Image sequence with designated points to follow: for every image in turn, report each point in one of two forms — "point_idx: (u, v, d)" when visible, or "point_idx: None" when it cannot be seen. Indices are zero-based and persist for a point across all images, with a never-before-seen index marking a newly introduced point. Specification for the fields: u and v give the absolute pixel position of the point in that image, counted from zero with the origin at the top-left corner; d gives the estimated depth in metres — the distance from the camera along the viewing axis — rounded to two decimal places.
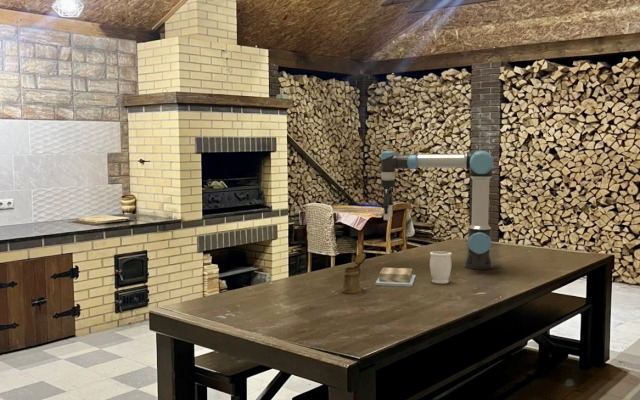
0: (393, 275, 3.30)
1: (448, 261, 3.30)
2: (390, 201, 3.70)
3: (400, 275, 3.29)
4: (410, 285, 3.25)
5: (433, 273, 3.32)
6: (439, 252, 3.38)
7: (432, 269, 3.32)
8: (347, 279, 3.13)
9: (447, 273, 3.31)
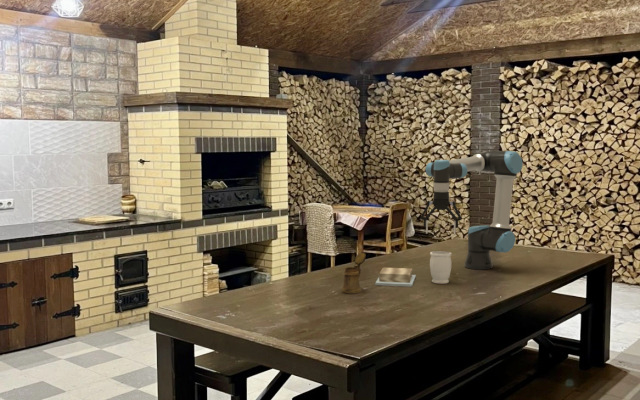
0: (393, 275, 3.30)
1: (448, 261, 3.30)
2: (452, 216, 3.30)
3: (400, 275, 3.29)
4: (410, 285, 3.25)
5: (433, 273, 3.32)
6: (439, 252, 3.38)
7: (432, 269, 3.32)
8: (347, 279, 3.13)
9: (447, 273, 3.31)
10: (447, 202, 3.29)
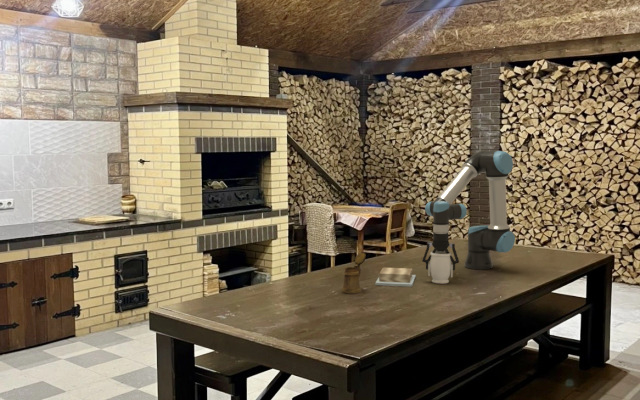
0: (393, 275, 3.30)
1: (448, 261, 3.30)
2: None
3: (400, 275, 3.29)
4: (410, 285, 3.25)
5: (433, 273, 3.32)
6: (439, 252, 3.38)
7: (432, 269, 3.32)
8: (347, 279, 3.13)
9: (447, 273, 3.30)
10: (447, 244, 3.31)
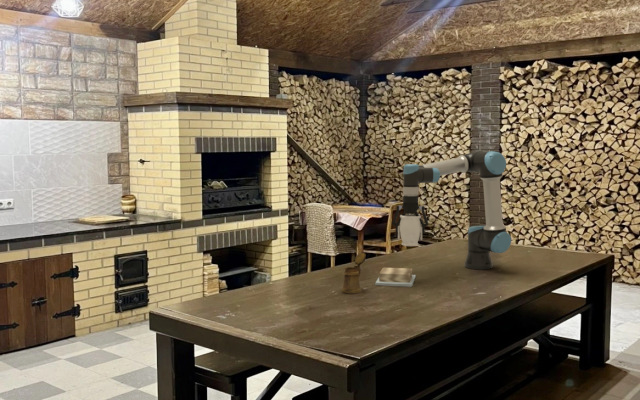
0: (393, 275, 3.30)
1: (418, 223, 3.30)
2: None
3: (400, 275, 3.29)
4: (410, 285, 3.25)
5: (403, 236, 3.31)
6: (409, 215, 3.38)
7: (402, 232, 3.31)
8: (347, 279, 3.13)
9: (417, 235, 3.30)
10: (416, 206, 3.31)
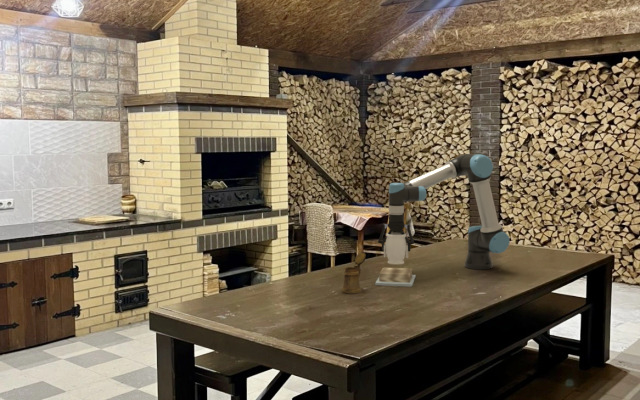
0: (393, 275, 3.30)
1: (403, 242, 3.32)
2: None
3: (400, 275, 3.29)
4: (410, 285, 3.25)
5: (388, 254, 3.34)
6: (395, 233, 3.40)
7: (387, 250, 3.34)
8: (347, 279, 3.13)
9: (402, 254, 3.32)
10: (402, 225, 3.33)
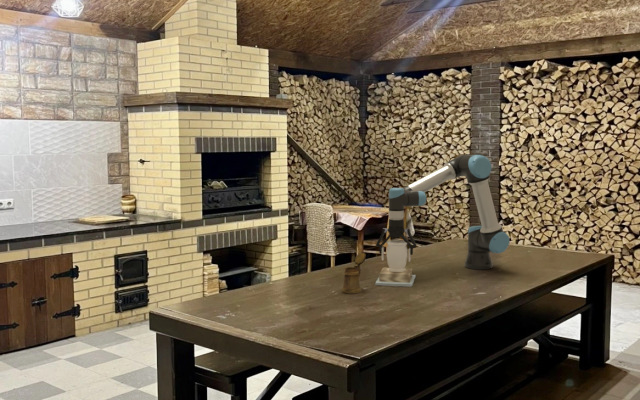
0: (393, 275, 3.30)
1: (404, 250, 3.32)
2: None
3: (400, 275, 3.29)
4: (410, 285, 3.25)
5: (389, 262, 3.34)
6: (396, 241, 3.40)
7: (388, 258, 3.34)
8: (347, 279, 3.13)
9: (403, 262, 3.33)
10: (402, 230, 3.33)
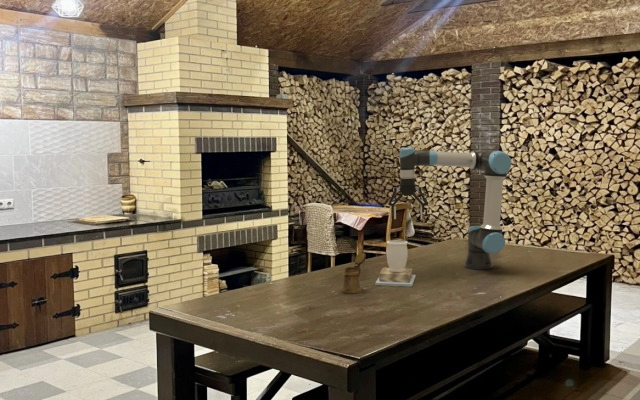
0: (393, 275, 3.30)
1: (404, 250, 3.32)
2: None
3: (400, 275, 3.29)
4: (410, 285, 3.25)
5: (389, 262, 3.34)
6: (396, 241, 3.40)
7: (388, 258, 3.34)
8: (347, 279, 3.13)
9: (403, 262, 3.33)
10: (413, 188, 3.43)
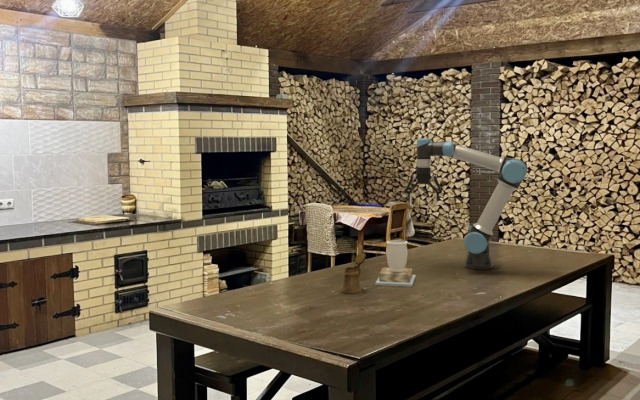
0: (393, 275, 3.30)
1: (404, 250, 3.32)
2: None
3: (400, 275, 3.29)
4: (410, 285, 3.25)
5: (389, 262, 3.34)
6: (396, 241, 3.40)
7: (388, 258, 3.34)
8: (347, 279, 3.13)
9: (403, 262, 3.33)
10: (429, 177, 3.61)
